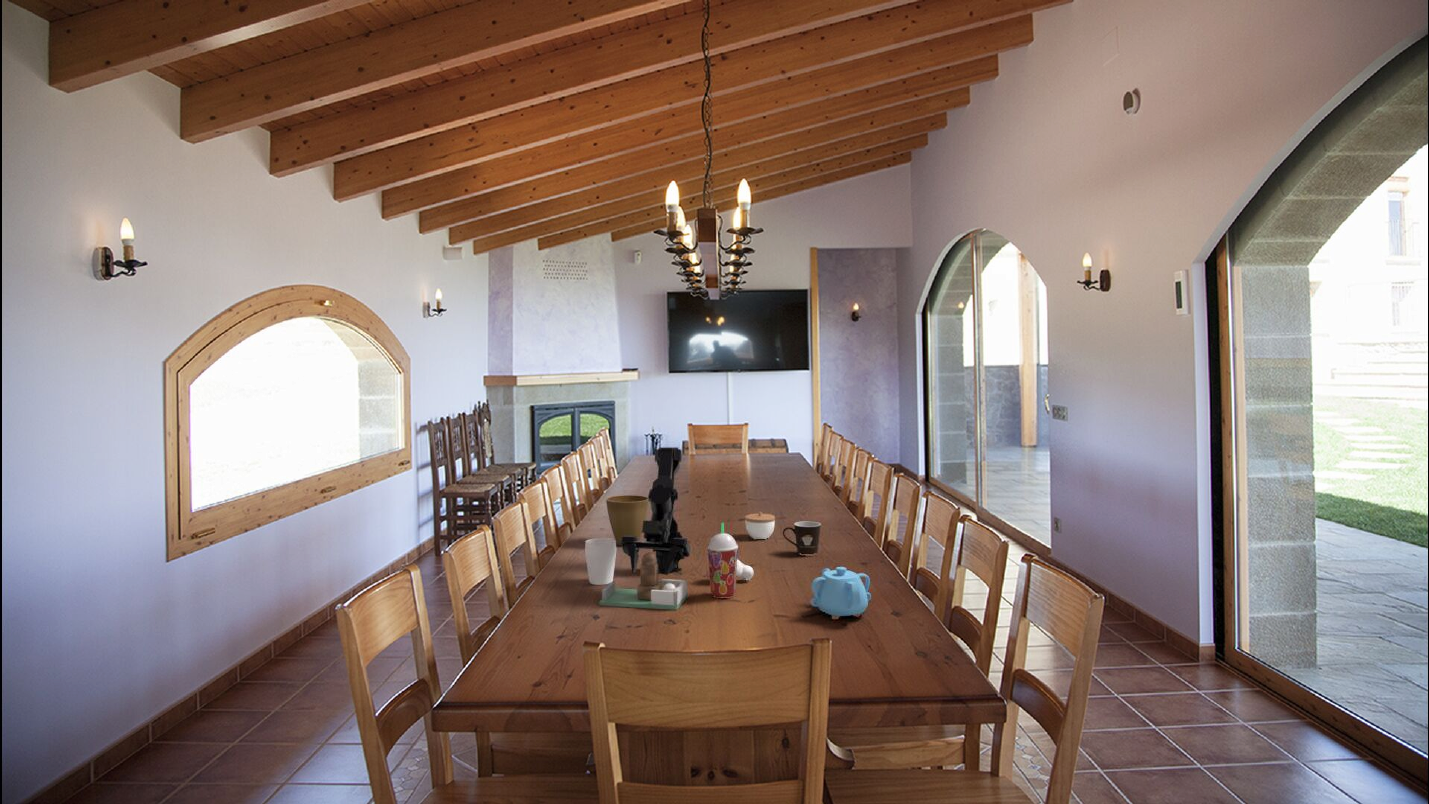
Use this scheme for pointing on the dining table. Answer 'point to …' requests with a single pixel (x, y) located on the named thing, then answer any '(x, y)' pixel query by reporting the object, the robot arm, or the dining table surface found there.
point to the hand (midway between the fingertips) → (649, 573)
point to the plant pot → (627, 515)
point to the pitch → (658, 599)
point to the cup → (600, 560)
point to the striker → (648, 577)
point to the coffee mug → (806, 536)
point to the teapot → (841, 592)
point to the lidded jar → (760, 525)
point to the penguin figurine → (744, 571)
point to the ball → (669, 587)
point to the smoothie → (722, 564)
